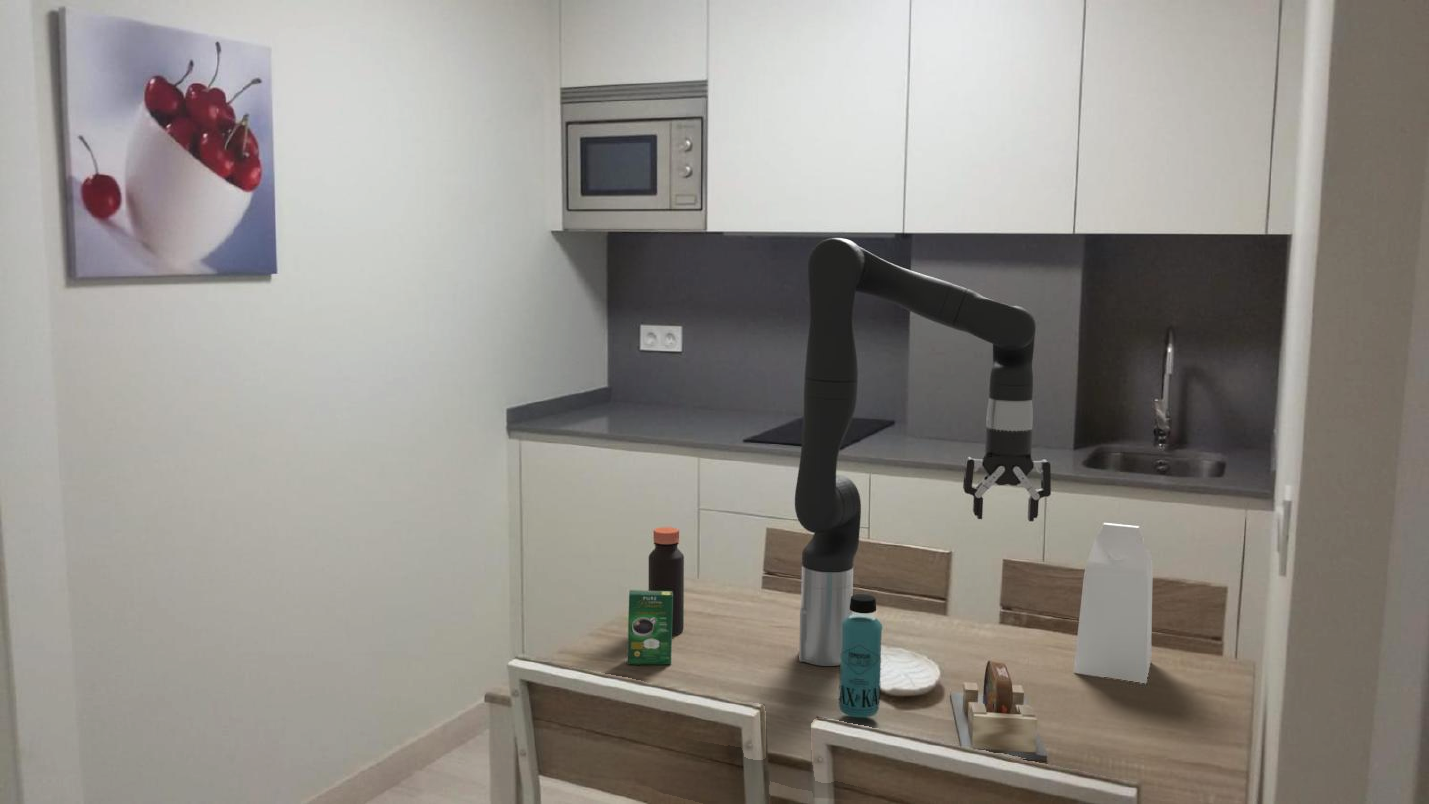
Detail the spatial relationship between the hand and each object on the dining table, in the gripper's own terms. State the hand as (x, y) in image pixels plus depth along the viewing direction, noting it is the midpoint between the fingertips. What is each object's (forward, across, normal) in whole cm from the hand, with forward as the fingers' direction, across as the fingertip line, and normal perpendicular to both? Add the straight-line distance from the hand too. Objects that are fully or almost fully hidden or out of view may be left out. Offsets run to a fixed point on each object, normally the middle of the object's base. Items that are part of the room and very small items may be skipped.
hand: (1005, 519), depth 190 cm
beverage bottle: (+28, -24, -21) cm, 43 cm away
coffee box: (+28, -61, -2) cm, 67 cm away
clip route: (+28, -3, -21) cm, 35 cm away
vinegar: (+28, -61, +15) cm, 69 cm away
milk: (+28, +21, +8) cm, 36 cm away
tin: (+28, -3, -21) cm, 35 cm away
